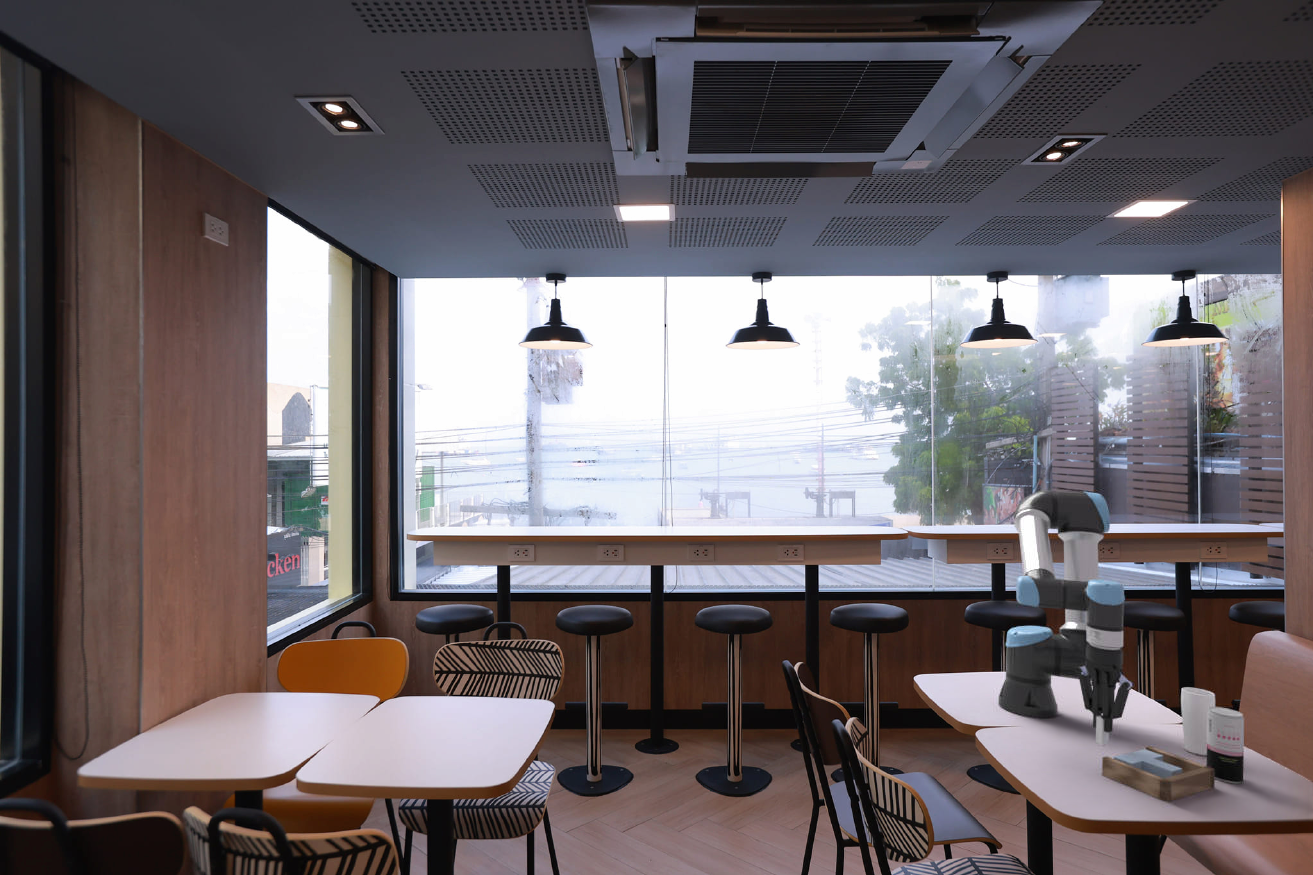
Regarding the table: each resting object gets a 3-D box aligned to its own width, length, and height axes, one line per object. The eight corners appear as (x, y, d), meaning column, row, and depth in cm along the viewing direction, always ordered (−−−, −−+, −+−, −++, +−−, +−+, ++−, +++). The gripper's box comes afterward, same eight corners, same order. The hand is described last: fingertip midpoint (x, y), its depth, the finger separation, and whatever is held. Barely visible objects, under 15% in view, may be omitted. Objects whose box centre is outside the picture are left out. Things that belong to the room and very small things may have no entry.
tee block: (1113, 774, 160) (1113, 756, 160) (1144, 766, 165) (1144, 749, 165) (1161, 793, 151) (1161, 774, 151) (1192, 784, 156) (1192, 765, 156)
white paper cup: (1220, 759, 171) (1221, 697, 172) (1189, 755, 172) (1190, 694, 173) (1205, 748, 178) (1205, 688, 178) (1174, 745, 179) (1175, 685, 180)
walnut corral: (1102, 774, 159) (1102, 757, 159) (1149, 762, 167) (1149, 745, 167) (1167, 801, 147) (1167, 782, 147) (1214, 787, 155) (1214, 769, 155)
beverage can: (1205, 768, 165) (1206, 704, 166) (1241, 776, 161) (1242, 710, 162) (1207, 778, 160) (1208, 711, 160) (1244, 786, 156) (1245, 718, 156)
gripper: (1068, 639, 173) (1066, 735, 173) (1122, 654, 162) (1120, 757, 161) (1087, 637, 177) (1085, 731, 176) (1142, 651, 165) (1140, 752, 165)
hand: (1102, 743), depth 169 cm, fingers closed
